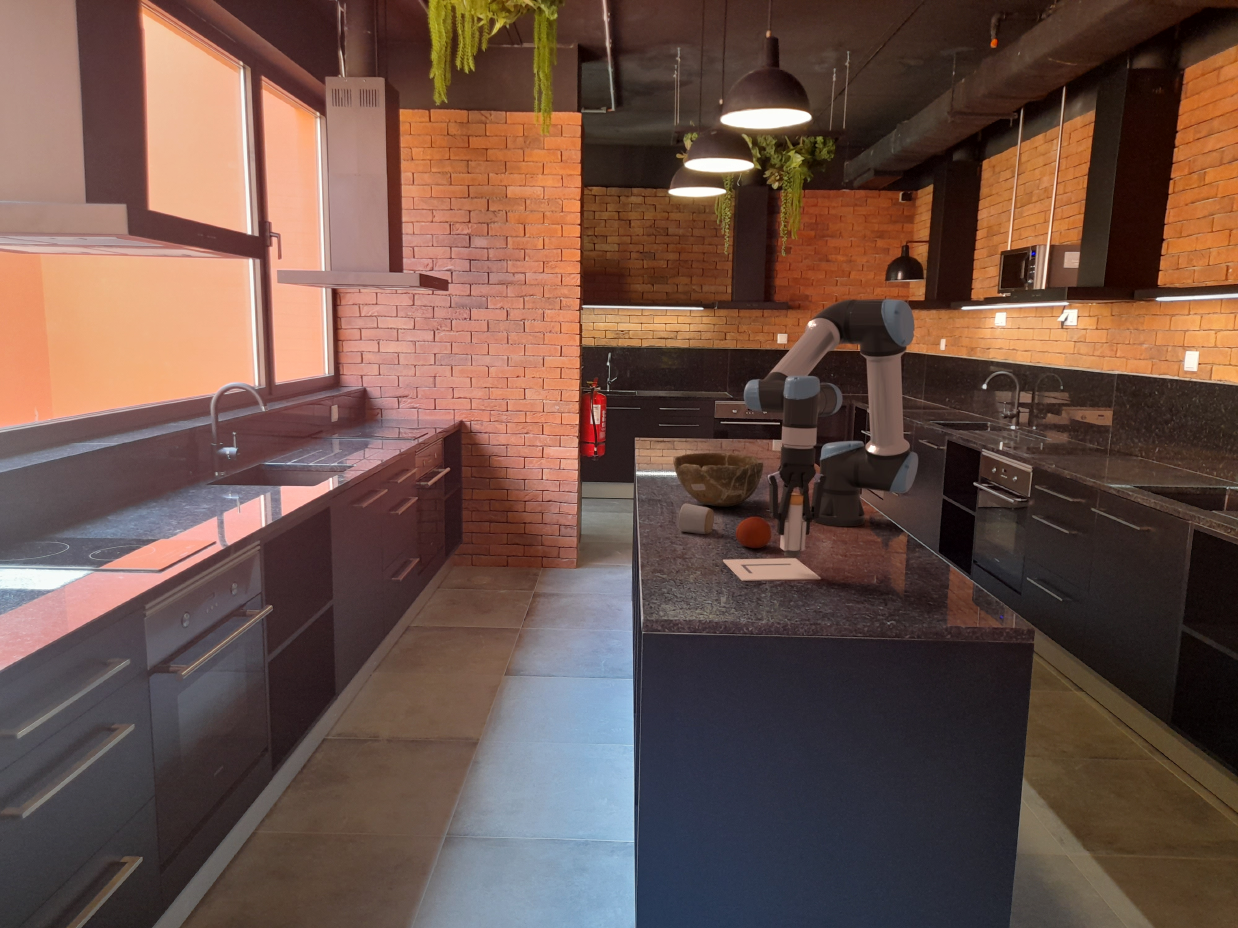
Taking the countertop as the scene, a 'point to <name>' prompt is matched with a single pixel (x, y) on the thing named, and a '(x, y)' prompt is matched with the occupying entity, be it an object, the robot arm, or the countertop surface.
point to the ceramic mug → (696, 519)
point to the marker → (794, 525)
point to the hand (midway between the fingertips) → (792, 548)
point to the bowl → (719, 477)
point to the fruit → (753, 532)
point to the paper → (770, 569)
